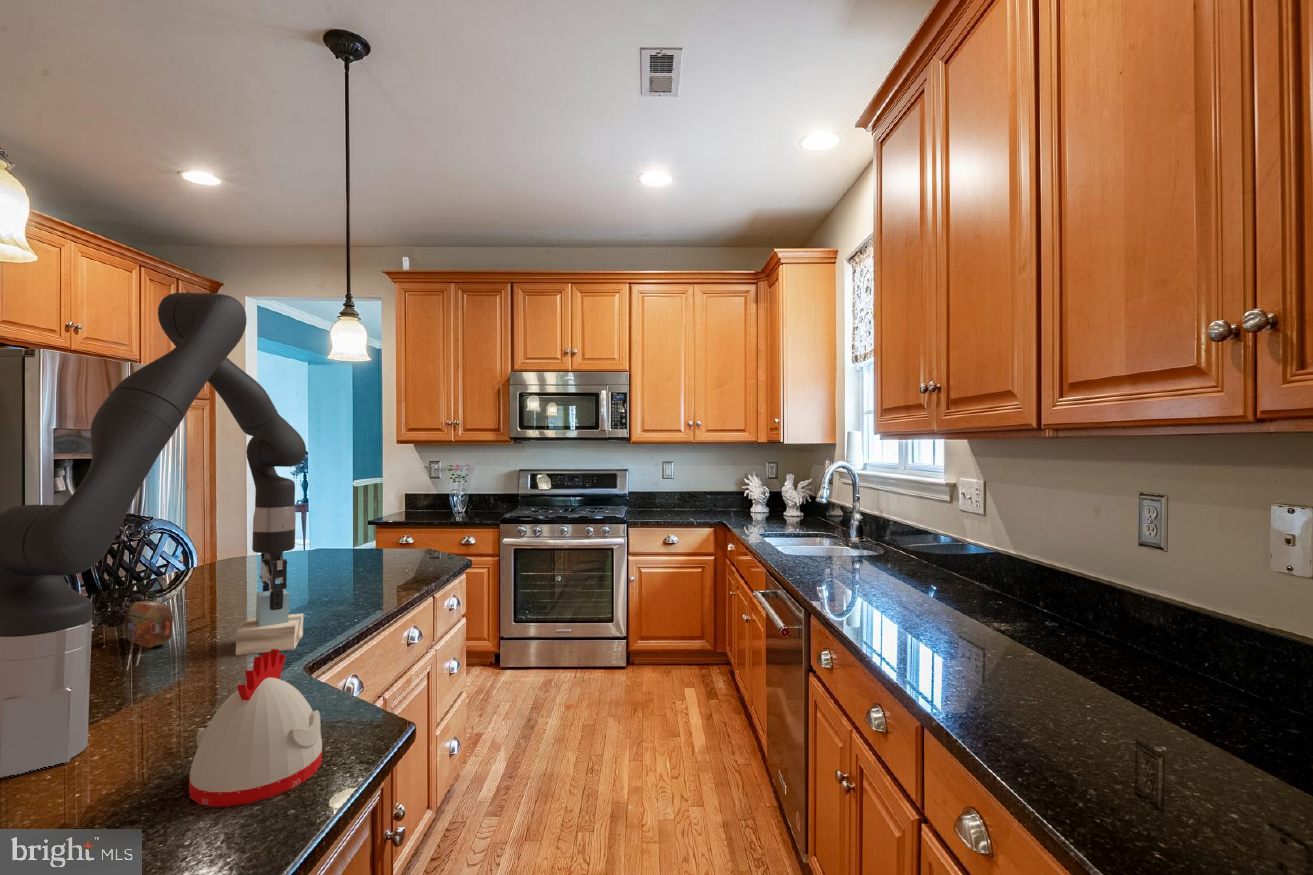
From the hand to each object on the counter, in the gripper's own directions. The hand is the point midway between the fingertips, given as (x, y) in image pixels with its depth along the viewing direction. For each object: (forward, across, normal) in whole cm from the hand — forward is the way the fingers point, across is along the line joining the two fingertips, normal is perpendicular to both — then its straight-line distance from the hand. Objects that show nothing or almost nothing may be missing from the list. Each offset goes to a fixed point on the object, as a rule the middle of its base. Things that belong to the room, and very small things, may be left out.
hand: (272, 605), depth 122 cm
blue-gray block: (+4, 0, 0) cm, 4 cm away
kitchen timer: (+8, -56, +10) cm, 58 cm away
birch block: (+8, 0, 0) cm, 8 cm away
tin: (+8, +17, +19) cm, 27 cm away
